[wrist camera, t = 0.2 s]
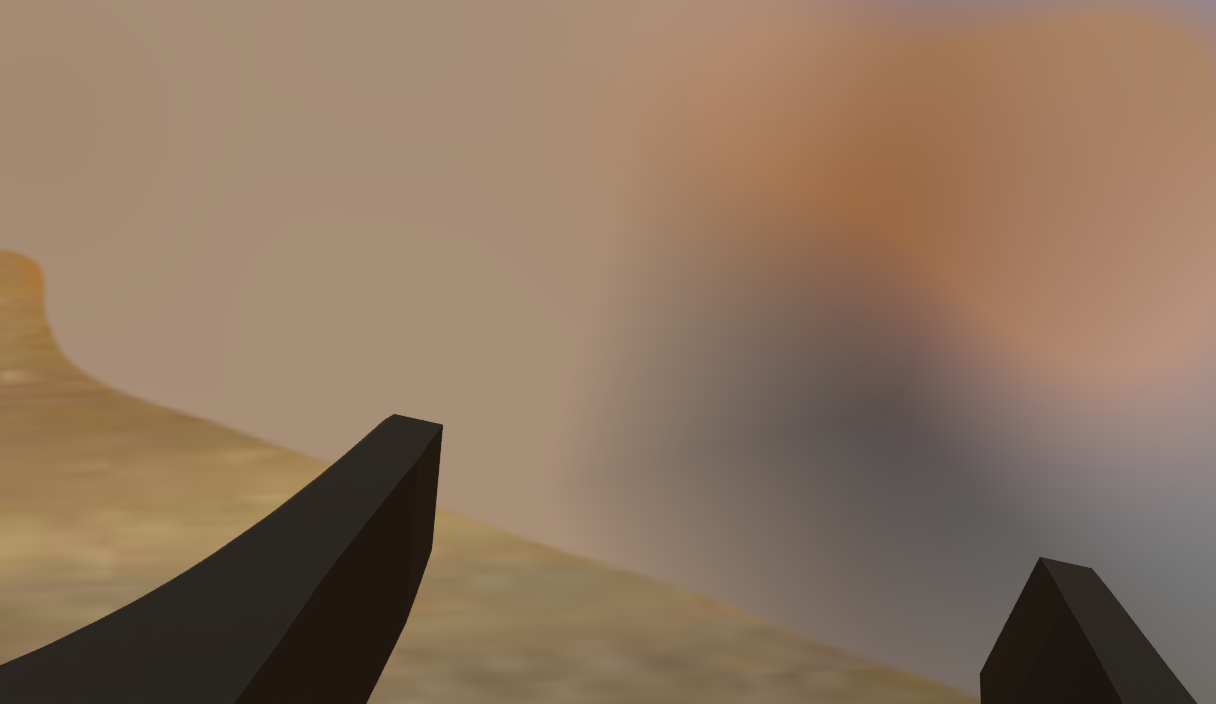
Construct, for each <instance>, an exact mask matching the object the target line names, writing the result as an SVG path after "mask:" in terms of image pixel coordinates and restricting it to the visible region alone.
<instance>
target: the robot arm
mask: <svg viewBox="0 0 1216 704" xmlns="http://www.w3.org/2000/svg"><path fill="white" fill-rule="evenodd" d="M442 430H443V425H442V424H437V423H433V422H428V421H424V420H419V419H415V418H410V417H405V416H401V415H396V414H393V415H392V416H390V417H388V418H387V419H385V420H384V421H383V422H381V423H380V424H379V425H378V426H377V427H376V428H375V429H374V430H372V431H371V432H370V433H369V434H368V435H367V436H366V437H365V438H363V439H362V440H361V441H360V442H359V443H358V444H356V445H355V446H354V447H353V448H352V449H351V450H350V451H348V452H347V453H346V454H345V455H344V456H343V457H341V458H340V459H339V460H338V461H336V462H335V463H334V464H333V465H332V466H330V467H329V468H328V469H327V470H326V471H324V472H323V473H322V474H321V475H320V476H318V477H317V478H316V479H315V480H313V481H312V482H311V483H309V484H308V485H307V486H306V487H304V488H303V489H302V490H300V491H299V492H298V493H297V494H295V495H294V496H293V497H291V498H290V499H289V500H288V501H286V502H285V503H284V504H283V505H281V506H280V507H279V508H277V509H276V510H275V511H273V512H272V513H271V514H269V515H268V516H267V517H265V518H264V519H262V520H261V521H260V522H258V523H257V524H255V525H254V526H252V527H251V528H250V529H248V530H247V531H245V532H244V533H242V534H241V535H240V536H238V537H237V538H235V539H234V540H232V541H231V542H229V543H228V544H227V545H225V546H224V547H222V548H221V549H219V550H218V551H217V552H215V553H214V554H212V555H210V556H209V557H207V558H206V559H204V560H203V561H201V562H200V563H198V564H196V565H195V566H193V567H192V568H190V569H189V570H187V571H185V572H184V573H182V574H180V575H179V576H177V577H175V578H174V579H172V580H170V581H169V582H167V583H165V584H164V585H162V586H160V587H158V588H157V589H155V590H153V591H152V592H150V593H148V594H146V595H145V596H143V597H141V598H139V599H138V600H136V601H134V602H132V603H130V604H128V605H126V606H124V607H123V608H121V609H119V610H117V611H115V612H113V613H111V614H109V615H107V616H105V617H103V618H101V619H100V620H98V621H96V622H94V623H92V624H90V625H87V626H85V627H83V628H81V629H79V630H77V631H75V632H73V633H71V634H69V635H67V636H65V637H63V638H61V639H59V640H57V641H55V642H53V643H51V644H49V645H46V646H44V647H42V648H40V649H37V650H35V651H33V652H30V653H28V654H26V655H23V656H21V657H19V658H16V659H14V660H12V661H9V662H7V663H5V664H2V665H0V704H366V703H367V701H368V699H369V697H370V695H371V693H372V691H373V689H374V687H375V685H376V683H377V681H378V679H379V677H380V675H381V673H382V671H383V669H384V667H385V665H386V663H387V661H388V659H389V657H390V655H391V653H392V651H393V649H394V647H395V645H396V642H397V640H398V638H399V636H400V634H401V632H402V630H403V628H404V626H405V624H406V622H407V619H408V616H409V613H410V611H411V608H412V605H413V602H414V599H415V597H416V594H417V591H418V588H419V585H420V583H421V580H422V577H423V574H424V571H425V568H426V565H427V562H428V559H429V556H430V553H431V551H432V543H433V532H434V521H435V509H436V498H437V486H438V475H439V464H440V452H441V441H442ZM980 691H981V704H1197V703H1196V701H1195V700H1194V699H1193V698H1192V697H1191V695H1190V694H1189V693H1188V691H1187V690H1186V689H1185V688H1184V686H1183V685H1182V684H1181V682H1180V681H1179V680H1178V679H1177V678H1176V676H1175V675H1174V673H1173V672H1172V671H1171V670H1170V669H1169V667H1168V666H1167V664H1166V663H1165V662H1164V661H1163V659H1162V658H1161V657H1160V655H1159V654H1158V653H1157V652H1156V650H1155V649H1154V648H1153V646H1152V645H1151V644H1150V642H1149V641H1148V640H1147V638H1146V637H1145V636H1144V634H1143V633H1142V632H1141V631H1140V629H1139V628H1138V626H1137V625H1136V624H1135V623H1134V621H1133V620H1132V619H1131V617H1130V616H1129V615H1128V613H1127V612H1126V611H1125V609H1124V608H1123V607H1122V606H1121V604H1120V603H1119V602H1118V600H1117V599H1116V598H1115V597H1114V595H1113V594H1112V593H1111V591H1110V590H1109V589H1108V587H1107V586H1106V585H1105V584H1104V582H1103V581H1102V580H1101V579H1100V578H1099V576H1098V575H1097V574H1096V573H1095V571H1094V570H1093V569H1092V568H1088V567H1083V566H1079V565H1074V564H1069V563H1065V562H1060V561H1056V560H1051V559H1046V558H1042V557H1040V558H1039V560H1038V562H1037V563H1036V566H1035V567H1034V569H1033V571H1032V573H1031V575H1030V577H1029V579H1028V581H1027V583H1026V585H1025V587H1024V589H1023V591H1022V593H1021V595H1020V597H1019V598H1018V600H1017V602H1016V604H1015V606H1014V608H1013V610H1012V612H1011V614H1010V616H1009V618H1008V620H1007V622H1006V624H1005V626H1004V628H1003V630H1002V632H1001V634H1000V636H999V638H998V639H997V641H996V643H995V645H994V647H993V649H992V651H991V653H990V655H989V657H988V659H987V661H986V663H985V665H984V667H983V669H982V671H981V673H980Z"/></svg>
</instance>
